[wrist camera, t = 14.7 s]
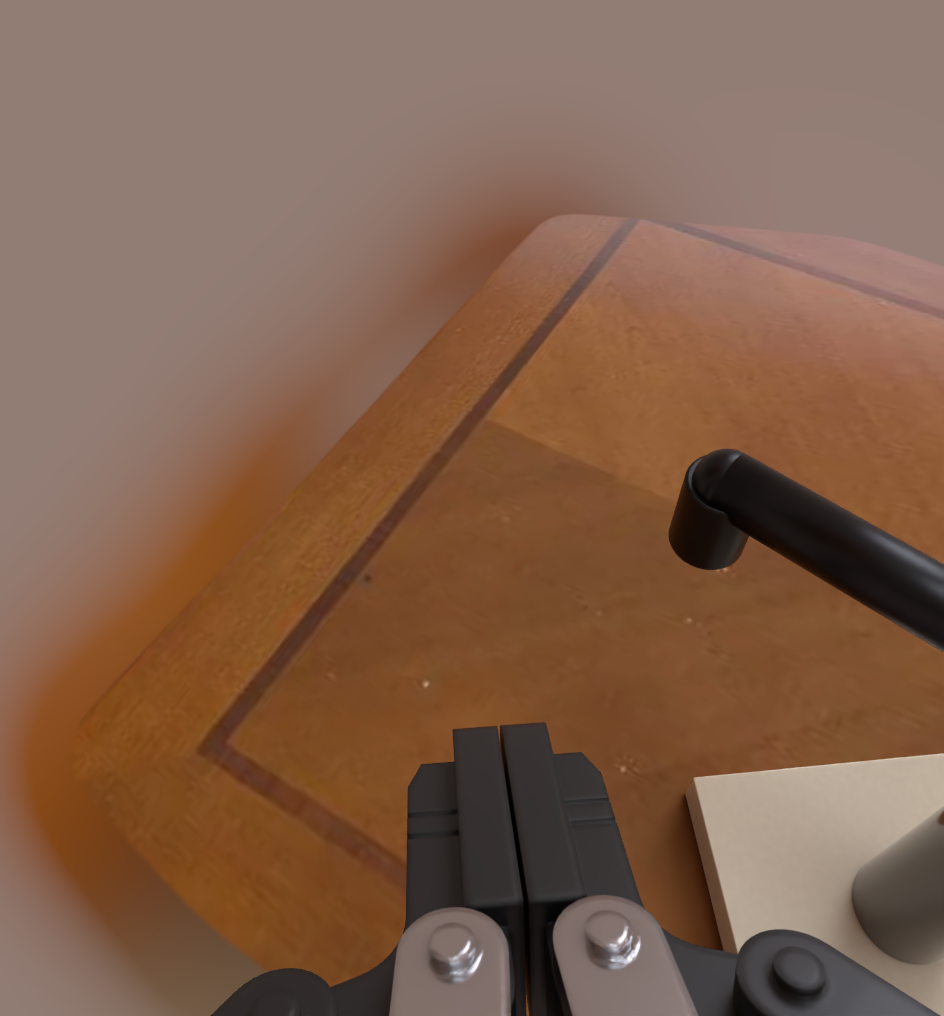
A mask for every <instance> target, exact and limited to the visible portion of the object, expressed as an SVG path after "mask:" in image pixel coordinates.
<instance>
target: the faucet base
mask: <svg viewBox="0 0 944 1016" xmlns="http://www.w3.org/2000/svg"><path fill="white" fill-rule="evenodd" d="M685 795H686V799H687V803H688V807H689V811H690V815H691V820H692V824H693V828H694V832H695V836H696V840H697V844H698V848H699V852H700V856H701V860H702V865H703V869H704V873H705V877H706V881H707V885H708V889H709V893H710V897H711V901H712V905H713V910H714V914H715V918H716V922H717V926H718V930H719V934H720V938H721V942H722V946H723V950H724V951H725V952H730V953H735V954H738V953H739V951H740V948H741V947H742V946H743V944H744V943H745V942H746V941H747V940H748V939H749V938H751V937H752V936H754V935H756V934H758V933H760V932H764V931H767V930H774V929H787V930H794V931H799V932H802V933H806V934H809V935H811V936H813V937H816V938H818V939H820V940H822V941H823V942H825V943H827V944H829V945H830V946H832V947H833V948H835V949H836V950H838V951H840V952H841V953H843V954H844V955H846V956H847V957H849V958H851V959H852V960H854V961H855V962H857V963H858V964H860V965H862V966H863V967H865V968H866V969H868V970H869V971H871V972H873V973H874V974H876V975H877V976H879V977H880V978H882V979H884V980H885V981H887V982H888V983H890V984H892V985H893V986H895V987H896V988H898V989H899V990H901V991H903V992H904V993H906V994H907V995H909V996H910V997H912V998H914V999H915V1000H917V1001H918V1002H920V1003H921V1004H923V1005H925V1006H926V1007H928V1008H929V1009H931V1010H932V1011H934V1012H936V1013H937V1014H939V1015H940V1016H944V753H943V754H933V755H922V756H912V757H902V758H891V759H881V760H871V761H860V762H850V763H840V764H829V765H819V766H809V767H798V768H788V769H778V770H767V771H757V772H747V773H736V774H726V775H716V776H705V777H695V778H693V780H692V781H691V783H690V785H689V787H688V788H687V790H686V792H685Z"/></svg>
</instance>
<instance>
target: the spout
mask: <svg viewBox="0 0 944 1016" xmlns="http://www.w3.org/2000/svg"><path fill="white" fill-rule="evenodd" d="M749 536H750V537H752V538H754V539H755V540H757V541H759V542H760V543H762V544H764V545H765V546H767V547H769V548H770V549H772V550H774V551H775V552H777V553H779V554H780V555H782V556H784V557H785V558H787V559H789V560H790V561H792V562H794V563H795V564H797V565H799V566H800V567H802V568H804V569H805V570H807V571H809V572H810V573H812V574H814V575H815V576H817V577H819V578H820V579H822V580H824V581H825V582H827V583H829V584H830V585H832V586H834V587H835V588H837V589H839V590H840V591H842V592H844V593H845V594H847V595H849V596H850V597H852V598H854V599H855V600H857V601H859V602H860V603H862V604H864V605H865V606H867V607H869V608H870V609H872V610H874V611H875V612H877V613H879V614H880V615H882V616H884V617H885V618H887V619H889V620H890V621H892V622H894V623H895V624H897V625H899V626H900V627H902V628H904V629H905V630H907V631H909V632H910V633H912V634H914V635H915V636H917V637H919V638H920V639H922V640H923V641H925V642H927V643H928V644H930V645H932V646H933V647H935V648H937V649H938V650H940V651H942V652H943V653H944V564H942V563H940V562H939V561H937V560H935V559H933V558H931V557H930V556H928V555H926V554H924V553H922V552H921V551H919V550H917V549H915V548H914V547H912V546H910V545H908V544H906V543H905V542H903V541H901V540H899V539H897V538H896V537H894V536H892V535H890V534H888V533H887V532H885V531H883V530H881V529H879V528H878V527H876V526H874V525H872V524H870V523H869V522H867V521H865V520H863V519H862V518H860V517H858V516H856V515H854V514H853V513H851V512H849V511H847V510H845V509H844V508H842V507H840V506H838V505H836V504H835V503H833V502H831V501H829V500H827V499H826V498H824V497H822V496H820V495H818V494H817V493H815V492H813V491H811V490H810V489H808V488H806V487H804V486H802V485H801V484H799V483H797V482H795V481H793V480H792V479H790V478H788V477H786V476H784V475H783V474H781V473H779V472H777V471H775V470H774V469H772V468H770V467H768V466H766V465H765V464H763V463H761V462H759V461H758V460H756V459H754V458H752V457H750V456H749V455H747V454H745V453H743V452H741V451H738V450H734V449H721V450H716V451H714V452H711V453H709V454H708V455H705V456H702V457H700V458H699V459H697V460H696V461H694V462H693V463H692V464H691V465H690V466H689V468H688V470H687V472H686V475H685V478H684V481H683V485H682V488H681V491H680V495H679V498H678V501H677V505H676V508H675V511H674V515H673V518H672V522H671V525H670V528H669V541H670V544H671V546H672V548H673V550H674V552H675V553H676V554H677V555H678V557H680V558H681V559H682V560H683V561H685V562H686V563H688V564H690V565H692V566H694V567H697V568H700V569H705V570H717V569H722V568H725V567H728V566H730V565H731V564H733V563H734V562H736V561H737V560H738V558H739V557H740V556H741V554H742V551H743V549H744V547H745V544H746V542H747V540H748V537H749Z"/></svg>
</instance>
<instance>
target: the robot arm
mask: <svg viewBox="0 0 944 1016" xmlns="http://www.w3.org/2000/svg"><path fill="white" fill-rule="evenodd" d="M453 746H454V762H446V763H432V764H421V766H420V768H419V769H418V771H417V773H416V774H415V776H414V778H413V780H412V781H411V783H410V785H409V786H408V812H407V813H408V818H407V884H406V922H405V928H404V932H403V935H402V937H401V939H400V941H399V943H398V945H397V946H396V947H395V949H394V950H393V952H392V953H391V954H390V955H389V956H388V957H387V958H386V959H385V960H384V961H383V962H382V963H380V964H379V965H378V966H376V967H375V968H373V969H372V970H370V971H369V972H367V973H364V974H362V975H360V976H358V977H356V978H353V979H351V980H348V981H345V982H343V983H340V984H338V985H335V986H333V987H329V985H328V984H327V983H326V982H325V981H324V980H323V979H322V978H321V977H319V976H318V975H316V974H314V973H312V972H309V971H306V970H303V969H295V968H288V969H278V970H273V971H270V972H267V973H264V974H262V975H260V976H258V977H255V978H253V979H252V980H250V981H249V982H247V983H245V984H244V985H243V986H242V987H241V988H239V989H238V990H237V991H236V992H235V993H234V994H233V995H232V996H230V998H228V999H227V1000H226V1001H225V1002H224V1003H223V1004H222V1005H221V1006H220V1007H219V1008H218V1009H217V1010H216V1011H215V1012H214V1013H213V1014H212V1015H211V1016H526V995H527V1003H528V1010H529V1016H940V1015H939V1014H937V1013H936V1012H934V1011H932V1010H931V1009H929V1008H928V1007H926V1006H925V1005H923V1004H921V1003H920V1002H918V1001H917V1000H915V999H914V998H912V997H910V996H909V995H907V994H906V993H904V992H903V991H901V990H899V989H898V988H896V987H895V986H893V985H892V984H890V983H888V982H887V981H885V980H884V979H882V978H880V977H879V976H877V975H876V974H874V973H873V972H871V971H869V970H868V969H866V968H865V967H863V966H862V965H860V964H858V963H857V962H855V961H854V960H852V959H851V958H849V957H847V956H846V955H844V954H843V953H841V952H840V951H838V950H836V949H835V948H833V947H832V946H830V945H829V944H827V943H825V942H823V941H822V940H820V939H818V938H816V937H813V936H811V935H809V934H806V933H802V932H799V931H794V930H787V929H774V930H767V931H764V932H760V933H758V934H756V935H754V936H752V937H751V938H749V939H748V940H747V941H746V942H745V943H744V944H743V946H742V947H741V948H740V951H739V953H738V954H735V953H730V952H725V951H720V950H715V949H710V948H705V947H701V946H697V945H693V944H690V943H688V942H685V941H683V940H680V939H679V938H677V937H675V936H673V935H671V934H670V933H668V932H667V931H665V930H664V929H663V928H661V927H660V925H659V923H658V922H657V921H656V919H655V918H654V917H653V916H652V915H651V914H650V913H649V912H648V911H647V910H646V909H645V908H644V906H643V904H642V901H641V899H640V896H639V893H638V890H637V886H636V883H635V880H634V877H633V874H632V870H631V867H630V864H629V861H628V858H627V854H626V851H625V848H624V845H623V842H622V838H621V835H620V832H619V829H618V826H617V823H616V822H615V816H614V813H613V810H612V806H611V803H610V802H609V797H608V794H607V790H606V787H605V784H604V781H603V778H602V775H601V772H600V771H599V770H598V769H597V768H596V767H595V766H594V765H593V764H592V763H591V762H590V761H589V760H588V759H587V758H586V757H585V756H584V755H583V754H582V753H581V752H577V753H564V754H553V751H552V747H551V742H550V738H549V734H548V730H547V726H546V723H545V722H542V723H529V724H515V725H501V726H500V741H499V735H498V729H497V726H490V727H476V728H463V729H453ZM500 747H501V748H500Z"/></svg>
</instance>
